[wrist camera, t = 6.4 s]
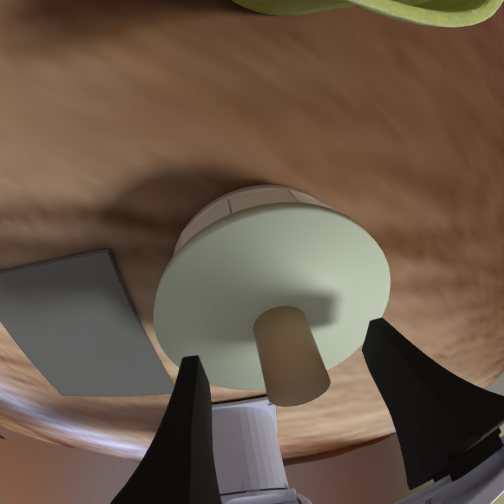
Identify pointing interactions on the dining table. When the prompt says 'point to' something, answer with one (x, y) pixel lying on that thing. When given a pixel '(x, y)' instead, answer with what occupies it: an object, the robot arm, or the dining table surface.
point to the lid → (272, 298)
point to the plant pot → (389, 9)
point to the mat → (81, 327)
